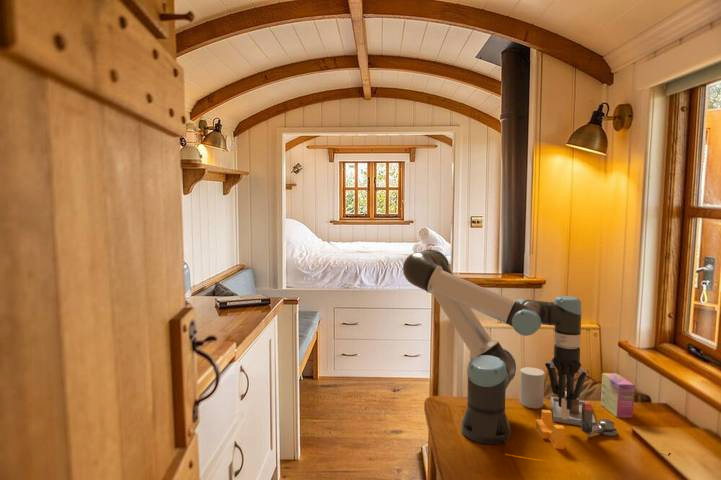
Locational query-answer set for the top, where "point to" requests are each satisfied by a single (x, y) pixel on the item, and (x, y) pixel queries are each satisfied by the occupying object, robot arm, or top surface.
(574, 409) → the stop block
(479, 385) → the robot arm
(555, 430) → the orange stepped block
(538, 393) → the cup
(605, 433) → the crank base
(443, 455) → the top surface
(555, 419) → the tray
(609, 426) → the crank
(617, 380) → the box
